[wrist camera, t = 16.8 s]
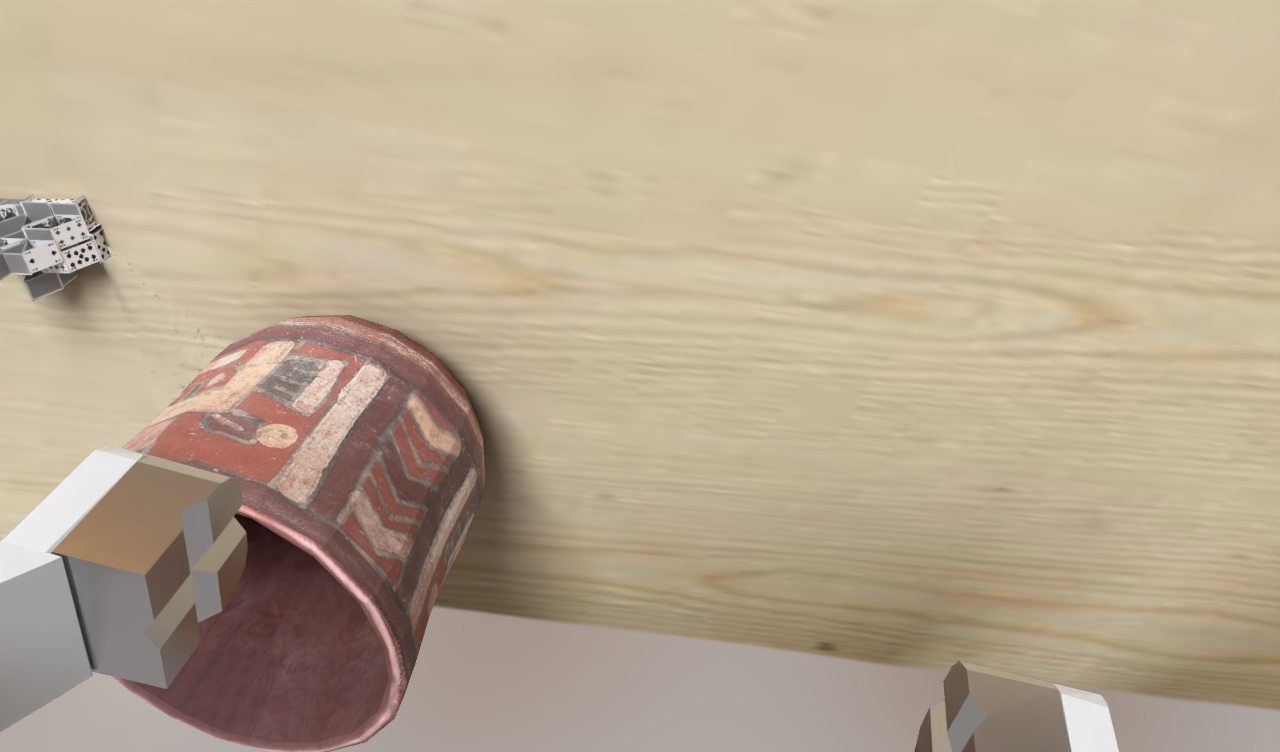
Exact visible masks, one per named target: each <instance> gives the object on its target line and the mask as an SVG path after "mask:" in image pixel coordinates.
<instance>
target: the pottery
mask: <svg viewBox="0 0 1280 752" xmlns="http://www.w3.org/2000/svg"><path fill="white" fill-rule="evenodd" d="M122 448H124V449H128V450H131V451H135V452H139V453H142V454H146V455H152V456H155V457H159V458H162V459H166V460H170V461H173V462H177V463H180V464H184V465H187V466H191V467H195V468H198V469H202V470H205V471H209V472H212V473H216V474H220V475H223V476H227V477H230V478H233V479H235V480H237V481H239V482H240V485H241V491H242V498H243V505H242V506H241V508H240V509H239V510H238V512H237V513H236V514H235V516H234V517H235V519H236V520H237V521H238V522H239V524H240V525H241V526H242V527H243V529H244V530H245V531H246V533H247V545H248V550H247V557H246V564H245V568H244V571H243V573H242V576H241V578H240V581H239V583H238V586H237V588H236V591H235V592H234V594H233V595H232V597H231V598H230V600H229V601H228V603H227V604H226V606H225V607H224V609H223V610H222V611H221V612H219V613H217V614H215V615H213V616H211V617H209V618H207V619H205V620H203V621H201V622H199V623H198V626H199V634H200V641H201V642H200V643H199V645H198V646H197V648H196V649H195V650H194V652H193V653H192V655H191V656H190V657H189V659H188V660H187V662H186V663H185V665H184V666H183V667H182V669H181V670H180V672H179V673H178V674H177V676H176V677H175V679H174V680H173V681H172V683H171V684H170V686H169V687H168V689H165V688H160V687H156V686H152V685H148V684H143V683H139V682H135V681H131V680H126V679H122V678H118V677H114V676H113V677H114V678H115V679H116V680H118V681H119V682H120V683H121V684H122V685H124V686H125V687H126V688H127V689H128V690H130V691H131V692H132V693H133V694H135V695H136V696H138V697H139V698H141V699H143V700H145V701H146V702H148V703H149V704H151V705H152V706H154V707H156V708H157V709H159V710H161V711H162V712H164V713H166V714H167V715H169V716H170V717H172V718H174V719H175V720H177V721H179V722H181V723H184V724H186V725H188V726H190V727H193V728H195V729H197V730H199V731H202V732H204V733H206V734H208V735H211V736H213V737H215V738H218V739H220V740H222V741H227V742H231V743H235V744H240V745H244V746H249V747H253V748H258V749H262V750H266V751H271V752H329V751H333V750H337V749H341V748H345V747H349V746H353V745H357V744H360V743H364V742H366V741H368V740H369V739H370V738H371V737H373V736H374V735H375V734H376V733H377V732H379V731H380V730H381V729H382V728H384V727H385V726H386V725H387V724H388V723H390V722H391V721H392V720H393V719H394V718H395V716H396V714H397V711H398V709H399V706H400V704H401V701H402V699H403V697H404V694H405V691H406V688H407V686H408V683H409V680H410V677H411V674H412V671H413V668H414V666H415V662H416V659H417V656H418V653H419V649H420V646H421V643H422V639H423V636H424V632H425V629H426V626H427V622H428V619H429V616H430V613H431V610H432V608H433V605H434V602H435V600H436V597H437V595H438V593H439V591H440V589H441V587H442V585H443V583H444V581H445V579H446V577H447V575H448V573H449V571H450V569H451V567H452V565H453V563H454V561H455V559H456V557H457V555H458V553H459V551H460V549H461V547H462V545H463V543H464V541H465V539H466V536H467V534H468V531H469V529H470V526H471V524H472V521H473V519H474V516H475V513H476V511H477V508H478V506H479V503H480V500H481V498H482V495H483V492H484V484H485V466H484V448H483V438H482V434H481V430H480V426H479V422H478V420H477V417H476V415H475V413H474V410H473V408H472V405H471V403H470V401H469V398H468V396H467V394H466V391H465V390H464V389H463V388H462V387H461V385H460V384H459V383H458V382H457V381H456V380H455V378H454V377H453V376H452V375H451V374H450V372H449V371H448V370H447V369H446V368H445V366H444V365H443V364H442V363H441V362H440V361H439V359H438V358H437V357H436V356H435V355H433V354H432V353H430V352H429V351H427V350H426V349H424V348H423V347H421V346H420V345H418V344H417V343H416V342H414V341H413V340H411V339H410V338H408V337H407V336H405V335H404V334H402V333H401V332H399V331H397V330H394V329H391V328H388V327H385V326H382V325H379V324H376V323H373V322H370V321H367V320H364V319H361V318H358V317H354V316H351V315H343V316H306V317H295V318H288V319H285V320H283V321H281V322H278V323H276V324H274V325H271V326H269V327H267V328H265V329H262V330H260V331H258V332H255V333H253V334H251V335H248V336H246V337H244V338H242V339H240V340H237V341H235V342H233V343H231V344H230V345H229V346H228V347H227V348H226V349H224V350H223V351H222V352H221V353H220V354H219V355H218V356H216V357H215V358H214V359H213V360H212V361H211V362H210V364H209V365H208V366H207V367H206V368H205V369H204V370H203V371H202V372H201V373H200V374H199V375H198V376H197V377H196V378H195V379H194V380H193V381H192V382H191V383H190V384H189V386H188V387H187V388H186V389H185V390H184V391H183V392H182V393H181V394H180V395H179V396H178V397H177V398H176V399H175V400H174V401H173V402H172V403H171V404H170V405H169V406H168V407H167V408H166V409H165V410H164V411H163V412H161V413H160V414H159V415H158V416H157V417H156V418H155V419H154V420H153V421H152V422H151V423H150V424H148V425H147V426H146V427H145V428H144V429H143V430H142V431H141V432H140V433H139V434H138V435H137V436H136V437H134V438H133V439H132V440H131V441H130V442H128V443H127V444H126V445H125V446H123V447H122Z"/></svg>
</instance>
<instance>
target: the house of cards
mask: <svg viewBox="0 0 1280 752" xmlns="http://www.w3.org/2000/svg"><path fill="white" fill-rule="evenodd" d="M99 225H100V224H96V222H95V220H94V217H93V215H92V212H91V210H90V207H89V205H88V202H87V200H86V197H85V195H83V196H82V197H80V198H79V199H35V197H34V195H32V196H30V197H28V198H27V199H25V200H16V199H0V281H1V280H3V279H4V278H6V277H7V276H9V275H10V274H19V275H26V276H25V279H24V283H25V285H26V287H27V290H28V292H29V294H30V296H31V298H32V301H35V300H38V299H40V298H43V297H45V296H48V295H50V294H53V293H55V292H58V291H60V290H63V289H64V286H65V285H67V284H68V283H69V282H71V281H72V280H73V279H75V278H76V277H77V276H79V275H78V273H77V271H76V270H78V269H81V268H83V267H86V266H89V265H91V264H94V263H96V262H100V264H101V263H102V262H104V261H105V260H106V259H108V258H109V257H111V256H110V253H109V251H108V248H107V246H106V243H105V240H104V238H103V235H102V233H101V230H102V229H103V228H96V227H97V226H99Z"/></svg>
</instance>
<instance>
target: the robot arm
mask: <svg viewBox="0 0 1280 752" xmlns="http://www.w3.org/2000/svg"><path fill="white" fill-rule="evenodd" d="M242 505H243V498H242V491H241V485H240V482H239V481H237V480H235V479H233V478H230V477H227V476H223V475H220V474H216V473H212V472H209V471H205V470H202V469H198V468H195V467H191V466H187V465H184V464H180V463H177V462H173V461H170V460H166V459H162V458H159V457H155V456H152V455H146V454H142V453H139V452H135V451H131V450H128V449H124V448H120V447H117V446H113V445H107V446H104V447H102V448H99V449H97V450H95V451H93V452H92V453H91V454H90V455H89V456H88V457H87V458H86V459H85V460H84V461H83V462H82V463H81V464H80V465H79V466H78V467H77V468H76V469H75V470H74V471H73V472H72V473H70V474H69V475H68V476H67V477H66V478H65V479H64V480H63V481H62V482H61V483H60V484H59V485H58V486H57V487H56V488H55V489H54V490H53V491H52V492H51V493H50V494H49V495H48V496H47V497H46V498H45V499H44V500H43V501H42V502H41V503H40V504H39V505H38V506H37V507H36V508H35V509H34V510H33V511H32V512H31V513H30V514H29V515H27V516H26V517H25V518H24V519H23V520H22V521H21V522H20V523H19V524H18V525H17V526H16V527H15V528H14V529H13V530H12V531H11V532H10V533H9V534H8V535H7V536H6V537H5V538H4V539H3V540H2V541H1V540H0V732H1V731H3V730H5V729H6V728H8V727H10V726H11V725H13V724H15V723H16V722H18V721H19V720H21V719H23V718H24V717H26V716H28V715H29V714H31V713H33V712H34V711H36V710H37V709H39V708H41V707H42V706H44V705H46V704H47V703H49V702H51V701H52V700H54V699H56V698H57V697H59V696H61V695H62V694H64V693H65V692H67V691H69V690H70V689H72V688H74V687H75V686H77V685H78V684H80V683H82V682H83V681H85V680H87V679H88V678H90V677H92V675H93V674H92V671H93V672H98V673H101V674H106V675H110V676H114V677H118V678H122V679H126V680H131V681H135V682H139V683H143V684H148V685H152V686H156V687H160V688H165V689H168V687H169V686H170V684H171V683H172V681H173V680H174V679H175V677H176V676H177V674H178V673H179V672H180V670H181V669H182V667H183V666H184V665H185V663H186V662H187V660H188V659H189V657H190V656H191V655H192V653H193V652H194V650H195V649H196V648H197V646H198V645H199V643H200V642H201V641H200V634H199V626H198V623H199V622H201V621H203V620H205V619H207V618H209V617H211V616H213V615H215V614H217V613H219V612H221V611H222V610H223V609H224V607H225V606H226V604H227V603H228V601H229V600H230V598H231V597H232V595H233V594H234V592H235V591H236V588H237V586H238V583H239V581H240V578H241V576H242V573H243V571H244V568H245V564H246V557H247V550H248V545H247V533H246V531H245V530H244V529H243V527H242V526H241V525H240V524H239V522H238V521H237V520H236V519H235V517H234V516H235V514H236V513H237V512H238V510H239V509H240V508H241V506H242ZM944 692H945V693H944V694H945V700H944V701H942V702H940V703H938V704H935V705H933V706H931V707H930V708H929V710H928V712H927V714H926V716H925V719H924V721H923V723H922V725H921V727H920V731H919V736H918V739H917V744H916V748H915V752H1119V749H1118V744H1117V740H1116V736H1115V732H1114V728H1113V724H1112V720H1111V716H1110V711H1109V708H1108V704H1107V703H1106V701H1105V700H1104V699H1103V697H1102V696H1101V695H1099V694H1094V693H1090V692H1086V691H1082V690H1078V689H1074V688H1070V687H1066V686H1062V685H1058V684H1050V683H1049V682H1047V681H1043V680H1039V679H1035V678H1031V677H1026V676H1022V675H1018V674H1014V673H1010V672H1006V671H1001V670H997V669H993V668H989V667H985V666H981V665H977V664H972V663H968V662H964V661H958V662H957V663H956V664H955V665H953V666H952V667H951V669H950V671H949V673H948V675H947V677H946V678H945V680H944Z"/></svg>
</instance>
